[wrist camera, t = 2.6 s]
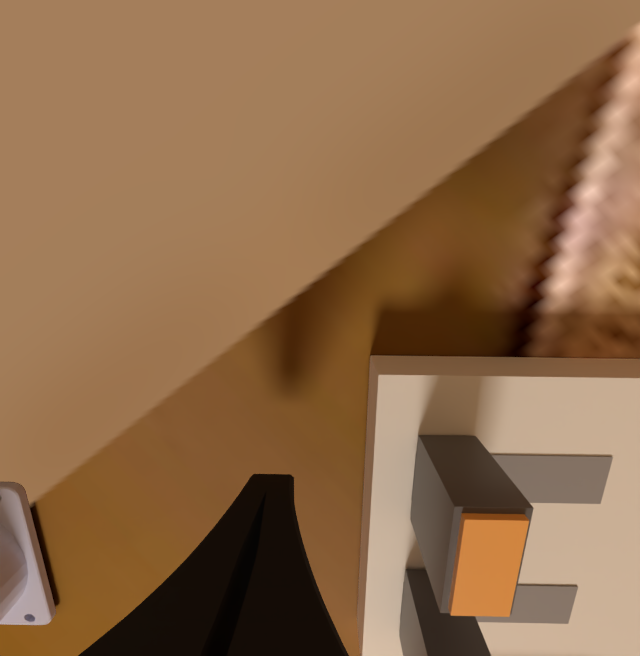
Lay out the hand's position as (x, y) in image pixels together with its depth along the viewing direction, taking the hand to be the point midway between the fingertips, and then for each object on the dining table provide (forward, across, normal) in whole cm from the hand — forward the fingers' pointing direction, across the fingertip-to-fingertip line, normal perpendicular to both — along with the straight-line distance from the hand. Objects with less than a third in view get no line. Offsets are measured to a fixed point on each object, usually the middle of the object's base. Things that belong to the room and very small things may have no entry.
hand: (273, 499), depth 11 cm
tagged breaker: (+1, -6, 0) cm, 6 cm away
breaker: (+1, -6, +6) cm, 9 cm away
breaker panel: (+3, -12, +3) cm, 13 cm away
